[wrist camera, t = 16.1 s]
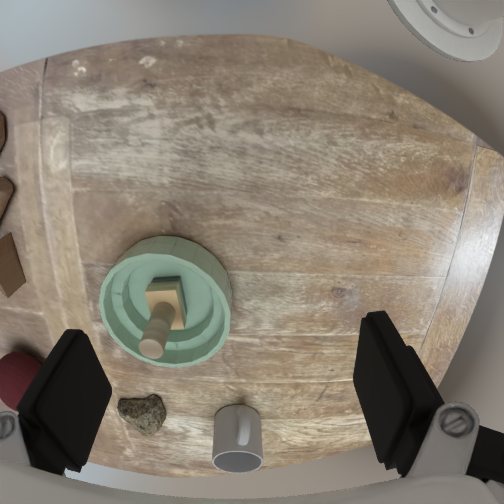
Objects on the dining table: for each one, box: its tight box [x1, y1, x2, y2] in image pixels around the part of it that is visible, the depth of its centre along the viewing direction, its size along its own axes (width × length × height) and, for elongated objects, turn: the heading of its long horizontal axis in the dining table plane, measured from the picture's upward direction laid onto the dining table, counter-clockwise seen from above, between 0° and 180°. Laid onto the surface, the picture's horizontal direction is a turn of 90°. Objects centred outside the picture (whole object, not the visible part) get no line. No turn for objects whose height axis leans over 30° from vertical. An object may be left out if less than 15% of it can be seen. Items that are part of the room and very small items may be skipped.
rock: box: [117, 395, 166, 436], centre depth 43 cm, size 7×8×4 cm
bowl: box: [99, 236, 232, 368], centre depth 34 cm, size 14×14×6 cm
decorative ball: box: [0, 352, 42, 411], centre depth 37 cm, size 10×10×10 cm
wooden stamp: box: [139, 276, 188, 359], centre depth 32 cm, size 5×4×10 cm
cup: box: [212, 405, 263, 473], centre depth 41 cm, size 7×10×9 cm
